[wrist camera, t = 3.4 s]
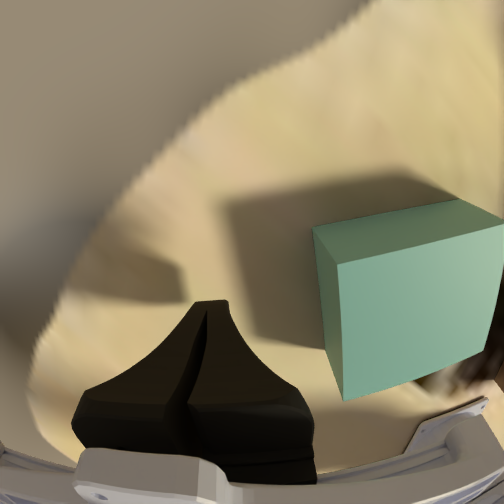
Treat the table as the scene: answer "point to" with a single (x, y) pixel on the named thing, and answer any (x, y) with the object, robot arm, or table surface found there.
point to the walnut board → (500, 377)
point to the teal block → (407, 292)
